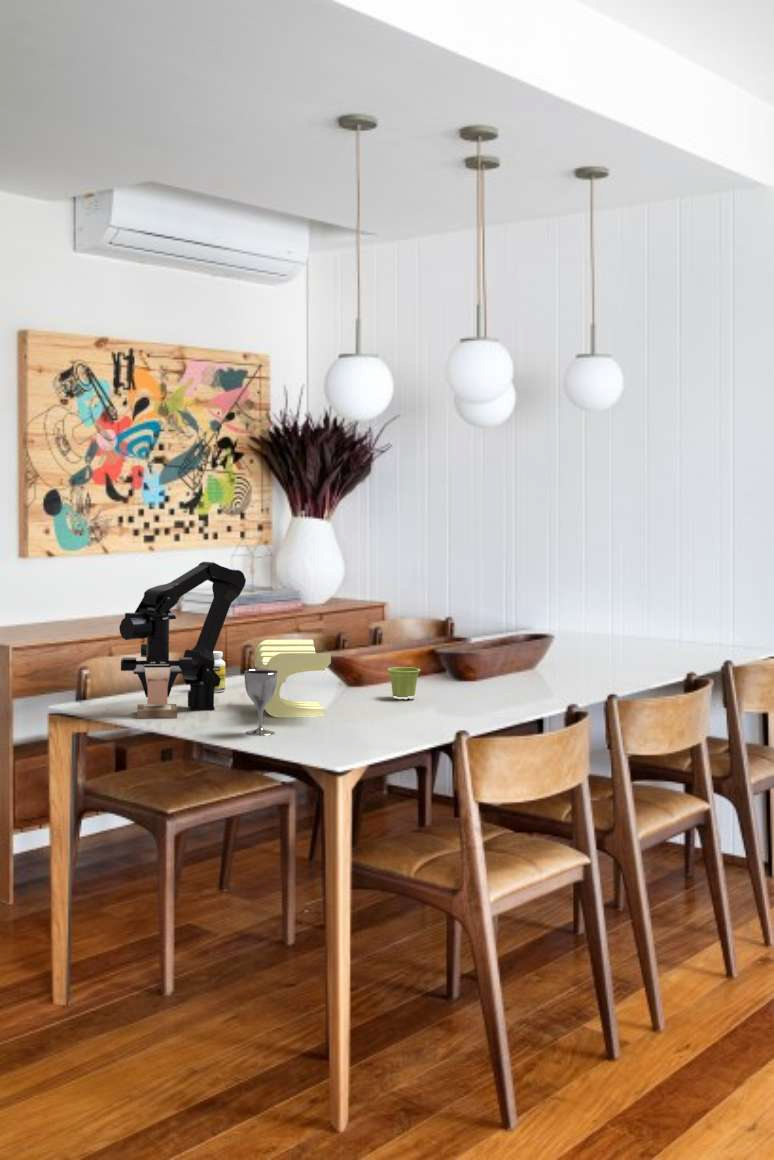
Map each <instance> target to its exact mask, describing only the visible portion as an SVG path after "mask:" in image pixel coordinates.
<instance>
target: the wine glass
mask: <svg viewBox="0 0 774 1160" xmlns="http://www.w3.org/2000/svg"><path fill="white" fill-rule="evenodd" d="M277 678H278V672H277V671H275V670H268V669H257V668H255V669H247V670H244V686H245V687H244V688H245V692H246V695H247V696H248V698H249V699H250V700H251V701H252V702H253V704H254V705H255V706H256V709H257V713H258V727H257V728H255V729H251V730H247V731H246V732H245V734H246V735H249V736H258V735H259V736H262V737H263V736H271V735H274V734H276V732H275V731H274V730H269V729H265V728H264V727H263V716H264V715H263V714H264V710H265V709H264V707H265V706H266V704H267V703H268V702H269V700H270V699H271V698H272V697H273V696H274V694H275V691H276V687H277Z"/></svg>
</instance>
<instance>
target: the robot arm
mask: <svg viewBox="0 0 774 1160" xmlns="http://www.w3.org/2000/svg"><path fill="white" fill-rule="evenodd" d="M207 581H209V582H211V583H212V586H211V589H212V595H213V599H212V602H211V604H210V607H209V609H208V611H207V615H206V617H205V619H204V622H203V626H202V627H201V631H200V633H199V636H198V639H197V642H196V644H195V646H194V647H192V649H186V650H185V651H184V652H183V653H184V654H183V656H182V657H178V660H175V659H174V660H170V620H175V619H176V618H177V616H176V615H175V614H174V613H172V611H171V609H172V608H173V607H175V606H176V605H177V604H178V603H179V601H180V599H181V597H183V596H184V595H185V594H187V593H189V592H191V591H192V590H194V589H196V588H197V587H199V586H200V585H202V584H203V583H205V582H207ZM246 581H247V579H246V577H245V574H244V572H243V571H241V570H239V569H231V568H229V567H226V566H222V565H219V564H218V563H216V562H214V561H213V562H212V561H202V562H200V563H199V564H198V565H197V566H194V568H191V569H190V570H188V571H187V572H185V573H184V574H181V575H180V576H179V577H176V578H175V579H173V580H172V581H170V582H168V583H164V584H159V585H156V586H153V587H150V588H148V589H146V590H145V591H144V592H143V598H142V599H141V601H140V603H139V604H138V606H137V608H136V609H135V611H134V612H125V613H124V618H122V620H121V622H120V624H119V634H120V636H121V637H122V639H123V640H125V641H132V640H139V639H141V640H142V639H146V643H141V644H140V658H145V659H146V660H137V657H122V658H121V659H120V671H121V672H122V671H123V672H133V674H134V675H137V676H138V678H139V681H140V683H141V685H142V688H143V692H144V695H145V697H146V698H147V697H148V681H147V676H146V669H145V668H149V669H150V668H151V669H152V668H153V669H154V668H170V669H169V673H168V674H169V675H168V679H167V681H168V687H167V698H169V697H170V693H171V691H172V687H173V686H174V683H175V681H176V678H177V677H178V675H182V678H183V680H184V683H185V685H186V686H188V685H189V689H188V691H187V706H188V708H189V710H190V711H192V710H193V711H197V710H198V711H199V710H200V711H206V710H207V711H209V710H211V711H212V710H215V693H214V687H218V686H219V684H220V680H221V679H220V677H219V676H218V675H217V674H216V673H215V671H214V670H213V669H214V664H215V661H214V654H213V651H215V648H216V645H217V642H218V640H219V637H220V634H221V632H222V628H223V625H224V623H225V621H226V617H227V615H228V612H229V610H230V608H231V605H232V603H233V602H234V601H235V600H236V599H237V598H239V597H240V595H241V594H242V592H243V590H244V588H245V586H246Z"/></svg>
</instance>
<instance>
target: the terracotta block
mask: <svg viewBox="0 0 774 1160" xmlns="http://www.w3.org/2000/svg"><path fill="white" fill-rule="evenodd" d="M167 687H168V678H147V690H148V697H146V698H147V701H146V702H147V703H146V704H148V705H166V704H168V697H167Z"/></svg>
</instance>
